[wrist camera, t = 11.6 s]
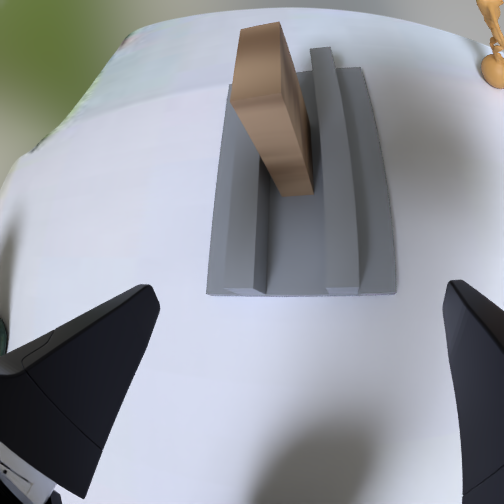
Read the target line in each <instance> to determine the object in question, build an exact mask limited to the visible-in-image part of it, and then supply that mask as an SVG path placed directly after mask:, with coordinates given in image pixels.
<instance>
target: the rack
mask: <svg viewBox="0 0 504 504" xmlns="http://www.w3.org/2000/svg"><path fill="white" fill-rule="evenodd" d="M310 54H311V61H312V68H313V71H306V72H298V73H296V74H297V78H298V81H299V85H300V88H301V92H302V95H303V99H304V102H305V106H306V110H307V114H308V117H309V121H310V128H311V143H312V161H313V183H314V195H301V196H287V197H282V196H281V194H280V192H279V190H278V188H277V186H276V184H275V182H274V181H273V179H272V177H271V175H270V173H269V171H268V169H267V167H266V166H265V164H264V162H263V160H262V158H261V156H260V155H259V153H258V151H257V149H256V147H255V145H254V144H253V142H252V140H251V138H250V136H249V135H248V133H247V131H246V129H245V127H244V126H243V124H242V122H241V120H240V119H239V117H238V115H237V113H236V112H235V110H234V108H233V106H232V105H231V103H230V97H231V90H232V84H230V85H229V90H228V97H227V104H226V111H225V118H224V126H223V133H222V141H221V149H220V157H219V165H218V174H217V183H216V192H215V201H214V210H213V220H212V231H211V241H210V253H209V264H208V276H207V289H206V294H208V295H211V296H267V297H297V296H357V295H387V294H395V293H396V269H395V253H394V240H393V230H392V220H391V211H390V203H389V196H388V189H387V182H386V176H385V170H384V164H383V158H382V153H381V148H380V142H379V138H378V133H377V128H376V124H375V119H374V115H373V111H372V107H371V103H370V99H369V95H368V91H367V88H366V84H365V80H364V77H363V73H362V70H361V67H354V68H338V69H335V65H334V60H333V56H332V51H331V47H323V48H313V49H310Z"/></svg>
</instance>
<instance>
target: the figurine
mask: <svg viewBox="0 0 504 504" xmlns="http://www.w3.org/2000/svg"><path fill="white" fill-rule="evenodd" d="M476 2H477V5H478V7H479V9H480V11H481V13H482V15H483V16H484V21H485V22H486V23H487V25H488V27H489V28H490V29H491V32H492V35H493V37H491V38H490V46H491V49H492V51H493V54H490V55H487V56H486V57H485V58H484V59H483V61H482V64H481V70H482V74H483V76H484V78H485V79H486V81H487V82H488V83H489V84H490V85H492V86H493V87H495V88H499V89H504V58H503V57H502V56H501V54H500V53H498V52H499V51H501V50H503V49H504V37H503V34H502V32H501V30H500V27H499V24H498V19H499V16H500V8H499V6H500V5H502V4H503V3H504V2H503V1H502V0H476ZM497 42H498V43H499V44H500V46H498V45H496V46H494V45H493V44H495V43H497Z"/></svg>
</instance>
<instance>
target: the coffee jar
mask: <svg viewBox="0 0 504 504" xmlns="http://www.w3.org/2000/svg"><path fill="white" fill-rule="evenodd" d="M6 341H7V335H6V331H5V327H4V323H3V321H2V319H1V318H0V356H3V355H5V350H6Z"/></svg>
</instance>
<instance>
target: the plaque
mask: <svg viewBox="0 0 504 504" xmlns="http://www.w3.org/2000/svg"><path fill="white" fill-rule="evenodd" d="M230 103H231V105H232V106H233V108H234V110H235V112H236V113H237V115H238V117H239V119H240V120H241V122H242V124H243V126H244V127H245V129H246V131H247V133H248V135H249V136H250V138H251V140H252V142H253V144H254V145H255V147H256V149H257V151H258V153H259V155H260V156H261V158H262V160H263V162H264V164H265V166H266V167H267V169H268V171H269V173H270V175H271V177H272V179H273V181H274V182H275V184H276V186H277V188H278V190H279V192H280V194H281V196H282V197H287V196H301V195H314V183H313V161H312V143H311V128H310V121H309V117H308V114H307V110H306V106H305V102H304V99H303V95H302V92H301V88H300V85H299V81H298V78H297V74H296V71H295V68H294V64H293V61H292V58H291V55H290V52H289V49H288V45H287V42H286V39H285V36H284V33H283V30H282V28H281V25H280V22H275V23H269V24H264V25H259V26H254V27H249V28H245V29H241V31H240V37H239V43H238V49H237V56H236V62H235V69H234V76H233V83H232V90H231V97H230Z"/></svg>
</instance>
